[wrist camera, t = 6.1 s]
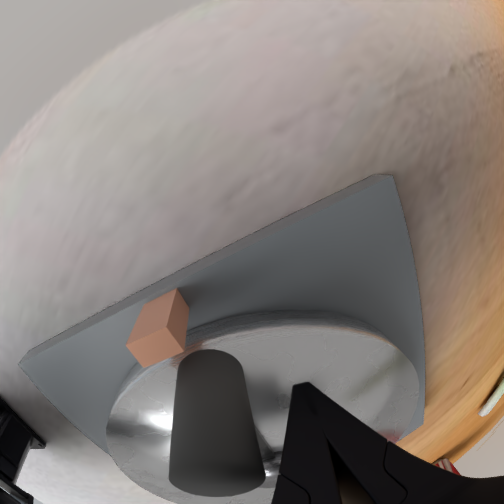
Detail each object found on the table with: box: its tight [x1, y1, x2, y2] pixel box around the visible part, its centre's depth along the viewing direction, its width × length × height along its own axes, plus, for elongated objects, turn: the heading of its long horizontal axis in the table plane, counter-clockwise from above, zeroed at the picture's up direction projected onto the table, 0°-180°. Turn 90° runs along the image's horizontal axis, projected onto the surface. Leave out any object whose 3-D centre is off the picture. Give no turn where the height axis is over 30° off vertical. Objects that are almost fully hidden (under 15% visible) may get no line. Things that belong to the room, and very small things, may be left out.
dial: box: [106, 310, 419, 504], centre depth 10 cm, size 18×18×6 cm
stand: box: [18, 175, 425, 456], centre depth 13 cm, size 22×22×4 cm
